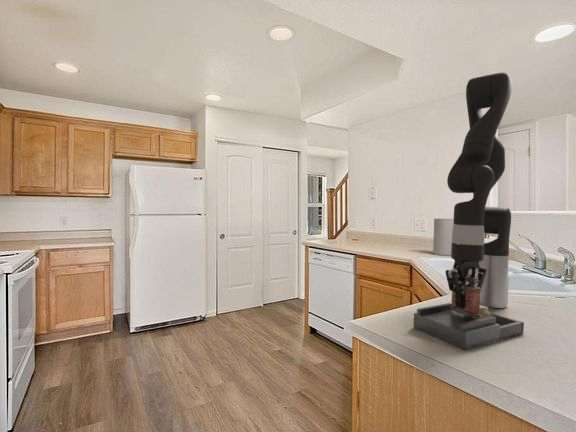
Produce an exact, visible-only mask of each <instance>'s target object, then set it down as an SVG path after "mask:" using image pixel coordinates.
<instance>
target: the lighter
mask: <svg viewBox="0 0 576 432" xmlns="http://www.w3.org/2000/svg"><path fill="white" fill-rule="evenodd" d="M459 281H460V282H464V281H462V280H459ZM473 283H476V284H477V283H478V278H474V277H470V279H469V285H468V286H466V291H465V294H464V295H465V308H463V309H461V308H458V307H456V305H455V295H456V294H455V292H453V291H451V304H452V305H451V310H453V311H455V312H457V313H460V314H462V315H465V316H469V317H472V318H480V313H479V307H480V292H481V288H480V287H477V286H473ZM453 286H455V285H454V284H453ZM461 287H462V285H461V284H460V288H461Z"/></svg>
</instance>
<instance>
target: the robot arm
mask: <svg viewBox="0 0 576 432" xmlns="http://www.w3.org/2000/svg"><path fill="white" fill-rule="evenodd" d="M466 84H467V85H466V88H465V89H466V91H465V99H466V108H467V115H468V124H469V130H468V131H467V133H466V134H465V137H464V142H463V145H462V150H461V153H460V155H459V157H458V158H457V159H456V161H455V162H454V164H453V165H452V167H451V169H450V171H449V173H448V174H447V181H446V185H447V186H448V189H449V190H450V191H451V192H453V193H456V194H473V195H472V198H471V199H470V200H467V201H461V202H458V203H456V204H454V207H453V219H454V223H453V224H454V225H453V230H452V245H451V256H450V257H451V259H453V260H454V263H453V266H452V268H451V269H445V277H446V281H447V285H448V289H449V291H450V292H452V291H453V292H455V294H456V295H455V305H456V307H458V308H461V309H463V308H465V295H464V294H465V291H466V286H468V285H469V279H470V277H474V278H478V283H477V284H476V283H473V286H477V287H480V288H481V292H480V305H481V306H484V307H488V308H492V309H493V308H495V309H505V308H507V306H508V305H509V284H510V283H509V260H510V259H509V256H510V235H511V228H512V227H511V224H512V211H511V209H510V208H509V207H506V206H505V207H504V206H486V205H487V201H488V198H489V195H490V192H491V190H492V189H493V187H494V186H495V185H496V184H497V183H498V181H499V180H500V179H501V177H502V176H503V173H504V172H505V170H506V151H505V146H504V145H503V143H502V142H501V140H499V139H500V138H498V137H497V136H496V133H497V131H498V129H499V126H500V124H501V122H502V119H503V117H504V114H505V112H506V110H507V106H508V104H509V101H510V98H511V94H512V78H511V75H510V74H509V73H508V72H504V71H503V72H498V73H497V72H495V73H491V74H486V75H482V76H477V77H472V78H470V79H469V80H468V81H467V83H466ZM488 108H489V109H488ZM483 109H488V110H487V111H486V112H485V113H484V114H483V112H482V110H483ZM485 234H487V235H497V237H496V239H494V240H491V241H489V242H485ZM459 280H462V281H464V282H460V281H459ZM453 284H454V285H455V286H453ZM460 284H461V285H462V287H461V288H460Z"/></svg>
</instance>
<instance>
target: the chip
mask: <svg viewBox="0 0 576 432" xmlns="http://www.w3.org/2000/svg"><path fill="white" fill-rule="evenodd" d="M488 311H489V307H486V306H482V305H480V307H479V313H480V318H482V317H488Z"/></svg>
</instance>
